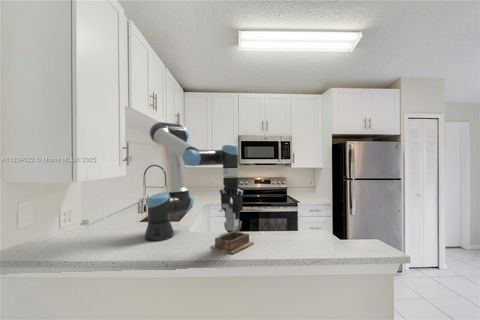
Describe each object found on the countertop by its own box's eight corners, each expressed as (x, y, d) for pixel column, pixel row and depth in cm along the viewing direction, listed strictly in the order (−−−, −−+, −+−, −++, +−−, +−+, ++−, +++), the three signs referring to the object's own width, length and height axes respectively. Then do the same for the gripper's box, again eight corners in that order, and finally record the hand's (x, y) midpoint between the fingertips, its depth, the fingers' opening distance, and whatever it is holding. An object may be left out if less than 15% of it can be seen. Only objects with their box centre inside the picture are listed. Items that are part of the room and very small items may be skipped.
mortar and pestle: (241, 237, 130) (240, 215, 130) (223, 237, 130) (223, 215, 130) (242, 231, 141) (241, 210, 141) (226, 231, 142) (226, 210, 142)
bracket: (222, 231, 114) (222, 203, 114) (235, 226, 121) (234, 200, 121) (229, 232, 111) (228, 204, 112) (241, 228, 118) (240, 201, 119)
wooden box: (210, 248, 114) (210, 237, 114) (232, 239, 127) (232, 229, 127) (233, 254, 106) (232, 243, 106) (253, 244, 118) (253, 234, 118)
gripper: (212, 177, 119) (214, 224, 119) (239, 177, 108) (241, 229, 108) (223, 176, 125) (224, 221, 125) (249, 176, 114) (251, 226, 114)
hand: (232, 225), depth 116 cm, fingers closed on bracket, 4 cm apart
